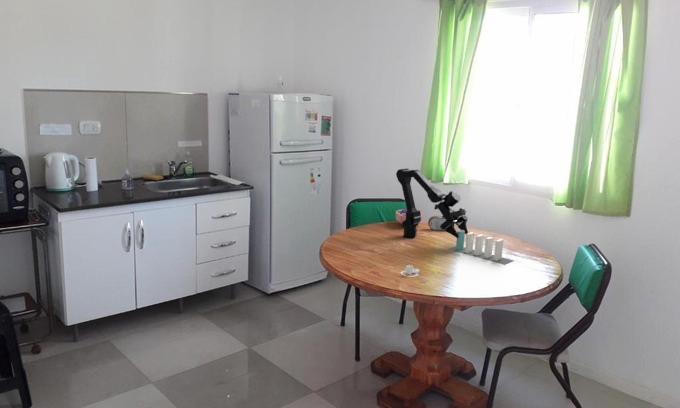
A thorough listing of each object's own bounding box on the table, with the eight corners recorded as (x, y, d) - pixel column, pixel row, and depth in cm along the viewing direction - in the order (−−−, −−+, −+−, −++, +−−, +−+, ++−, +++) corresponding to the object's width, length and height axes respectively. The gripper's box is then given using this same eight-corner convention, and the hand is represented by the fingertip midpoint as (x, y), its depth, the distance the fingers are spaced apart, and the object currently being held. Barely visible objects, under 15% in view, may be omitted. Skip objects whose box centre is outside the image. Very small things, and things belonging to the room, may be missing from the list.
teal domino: (455, 249, 276) (457, 231, 274) (460, 248, 280) (462, 229, 277) (458, 250, 275) (459, 232, 273) (463, 248, 278) (465, 230, 276)
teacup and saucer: (418, 271, 243) (418, 263, 242) (421, 277, 236) (421, 269, 235) (399, 271, 243) (399, 263, 242) (401, 277, 235) (402, 268, 234)
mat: (446, 249, 277) (447, 249, 277) (457, 246, 284) (457, 245, 284) (504, 265, 254) (504, 264, 254) (514, 261, 261) (514, 260, 261)
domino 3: (483, 257, 265) (485, 238, 263) (488, 255, 268) (490, 236, 266) (486, 258, 264) (488, 239, 262) (491, 256, 267) (493, 237, 265)
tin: (452, 230, 317) (453, 216, 315) (453, 231, 314) (454, 218, 312) (427, 228, 319) (428, 215, 317) (427, 230, 316) (428, 216, 314)
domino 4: (493, 260, 261) (495, 240, 259) (498, 258, 265) (500, 239, 262) (496, 260, 260) (498, 241, 258) (501, 258, 264) (503, 239, 261)
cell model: (390, 227, 318) (391, 209, 316) (399, 220, 337) (400, 203, 334) (418, 231, 312) (419, 212, 310) (425, 223, 330) (426, 206, 328)
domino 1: (464, 252, 272) (466, 233, 270) (469, 250, 276) (471, 232, 274) (467, 253, 271) (469, 234, 269) (472, 251, 275) (474, 232, 273)
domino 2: (474, 254, 269) (475, 236, 266) (479, 252, 272) (480, 234, 270) (476, 255, 267) (478, 236, 265) (481, 253, 271) (483, 235, 269)
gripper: (446, 205, 268) (463, 230, 263) (466, 200, 281) (482, 224, 276) (433, 217, 275) (449, 242, 270) (452, 212, 288) (468, 236, 283)
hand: (463, 236), depth 275 cm, fingers open, 9 cm apart
